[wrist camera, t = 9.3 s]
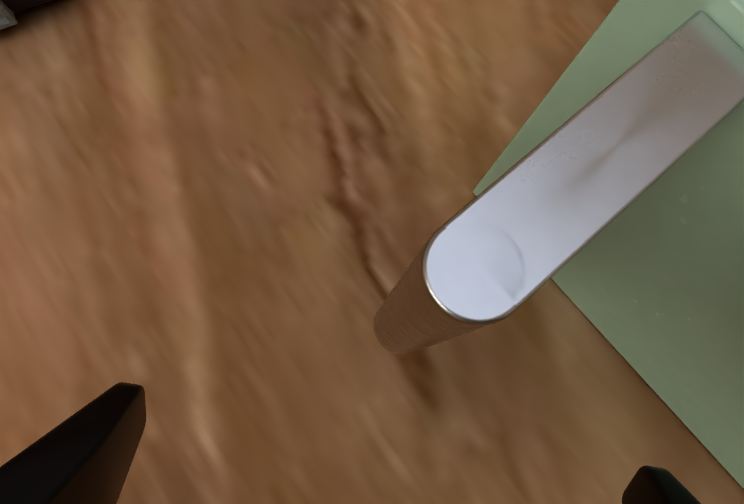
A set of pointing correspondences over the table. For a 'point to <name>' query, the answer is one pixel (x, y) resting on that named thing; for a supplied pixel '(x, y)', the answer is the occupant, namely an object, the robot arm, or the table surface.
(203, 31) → the table surface
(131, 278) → the table surface
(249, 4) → the table surface
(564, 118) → the cabinet door
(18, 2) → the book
